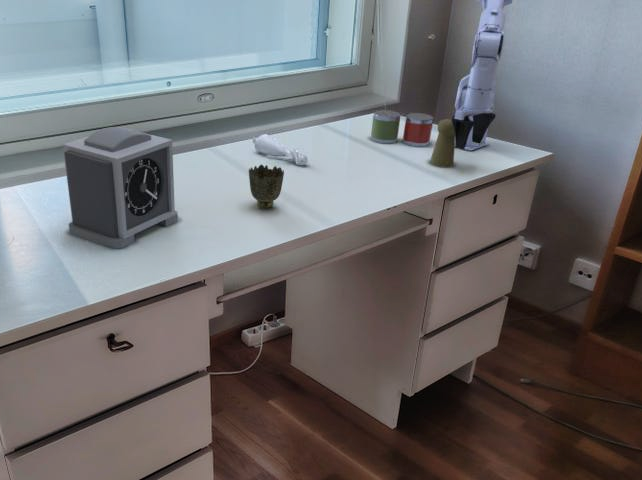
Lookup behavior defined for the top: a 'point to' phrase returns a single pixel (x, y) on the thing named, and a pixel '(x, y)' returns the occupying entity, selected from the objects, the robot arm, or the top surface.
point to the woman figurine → (277, 150)
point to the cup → (265, 184)
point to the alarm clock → (119, 185)
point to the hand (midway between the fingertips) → (468, 145)
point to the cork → (444, 145)
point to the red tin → (417, 129)
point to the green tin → (385, 126)
